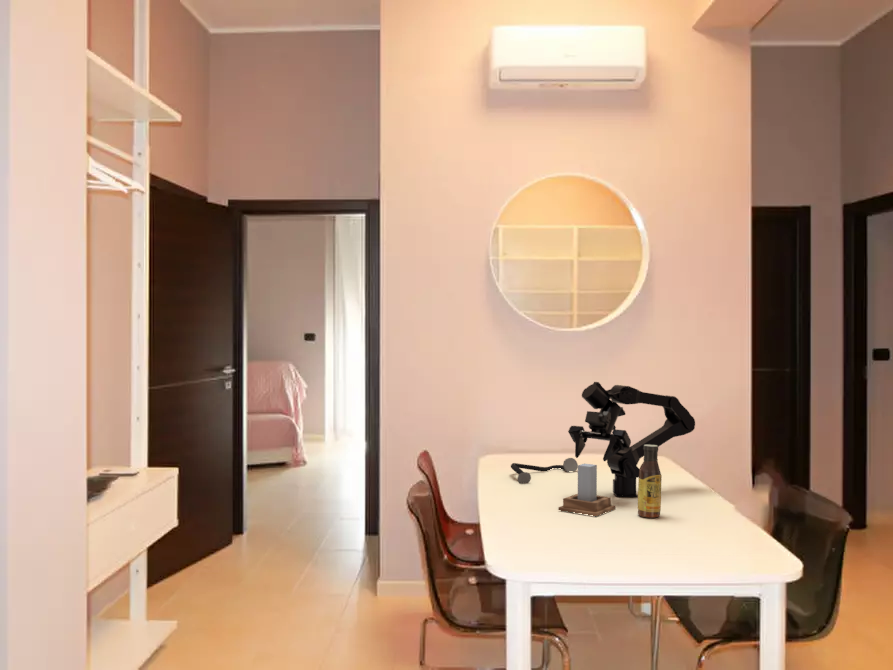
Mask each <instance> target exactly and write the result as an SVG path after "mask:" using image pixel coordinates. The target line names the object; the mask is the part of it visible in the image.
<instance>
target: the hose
mask: <svg viewBox="0 0 893 670" xmlns="http://www.w3.org/2000/svg"><path fill="white" fill-rule="evenodd" d="M562 463H563V465H562V464H554V465H550V466H538V465H531V464H523V463H516V462H513V463H511V464H510V469H512V471H514V472H515V473H516V474H518V475H517V482H518V484H520V483H522V484H529V483H530V481H531V479H532V475H531V474H530V473H529V472H526V471H523V470H522V469H526V470H531V471H537V472H542V471H547V470H550V469H552V468H561V469H564V470H565V472H567V473H570V472H569V471H575V472H576V471H578V465H579V464H578V462H577V460H576V459H575V458H573V457H568V458H565V459H564V461H563V462H562ZM561 469H560V470H561ZM564 470H563V471H564ZM550 471H551V470H550ZM547 472H548V471H547Z"/></svg>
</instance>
